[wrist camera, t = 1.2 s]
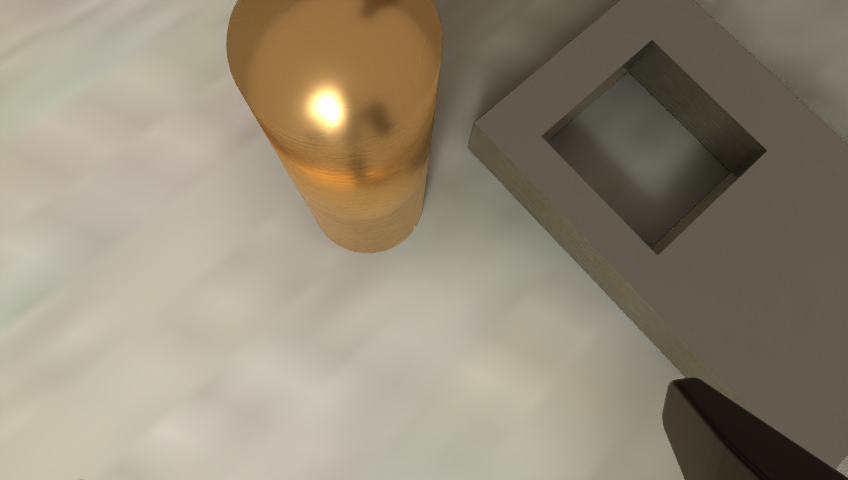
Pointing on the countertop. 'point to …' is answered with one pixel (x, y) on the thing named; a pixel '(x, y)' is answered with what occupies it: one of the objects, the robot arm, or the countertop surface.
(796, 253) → the plate
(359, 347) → the countertop surface
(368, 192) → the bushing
